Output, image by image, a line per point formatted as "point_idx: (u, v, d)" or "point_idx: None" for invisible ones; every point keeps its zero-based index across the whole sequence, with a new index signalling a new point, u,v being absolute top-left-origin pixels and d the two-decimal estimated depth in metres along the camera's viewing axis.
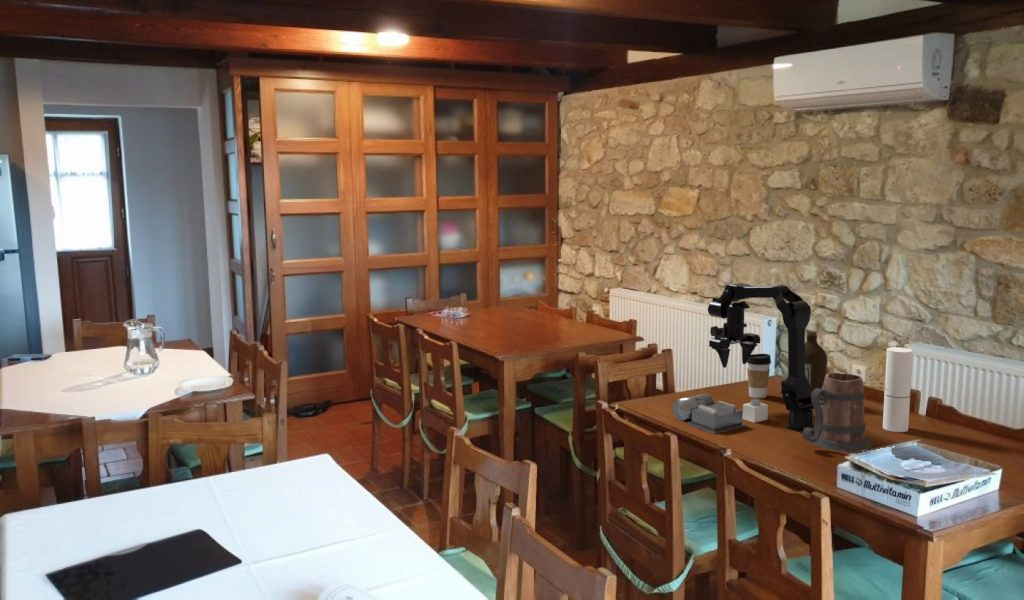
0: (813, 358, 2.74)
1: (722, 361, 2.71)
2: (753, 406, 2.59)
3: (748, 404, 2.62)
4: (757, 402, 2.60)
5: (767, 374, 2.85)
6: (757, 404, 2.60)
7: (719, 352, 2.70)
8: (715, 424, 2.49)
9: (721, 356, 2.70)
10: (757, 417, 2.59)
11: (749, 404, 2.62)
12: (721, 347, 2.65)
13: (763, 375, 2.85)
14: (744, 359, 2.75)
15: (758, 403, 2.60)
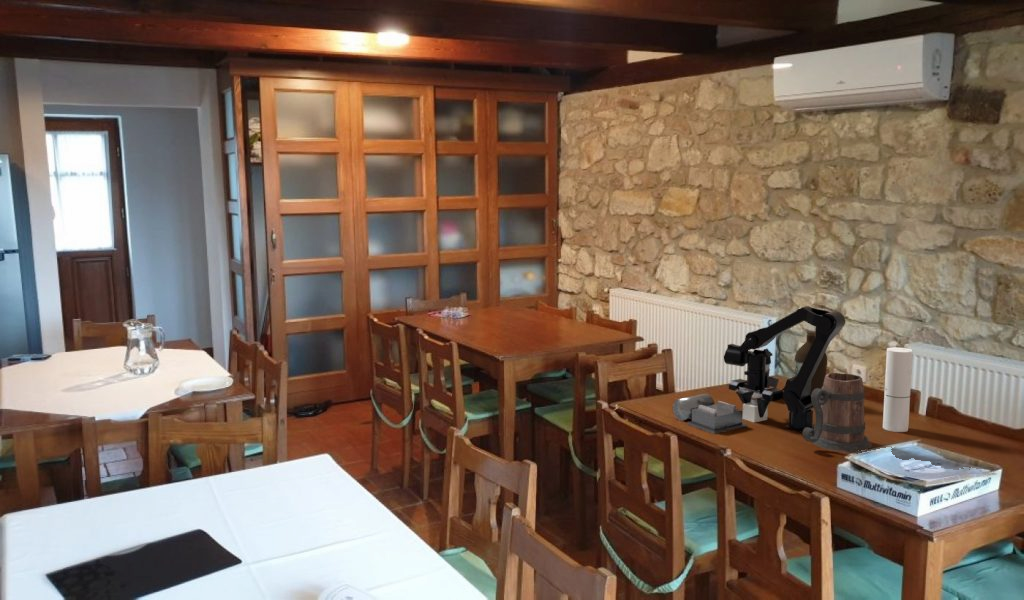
0: None
1: None
2: (753, 406, 2.59)
3: (748, 404, 2.62)
4: None
5: None
6: (757, 404, 2.60)
7: None
8: (715, 424, 2.49)
9: None
10: (757, 416, 2.59)
11: (749, 404, 2.62)
12: None
13: None
14: None
15: None
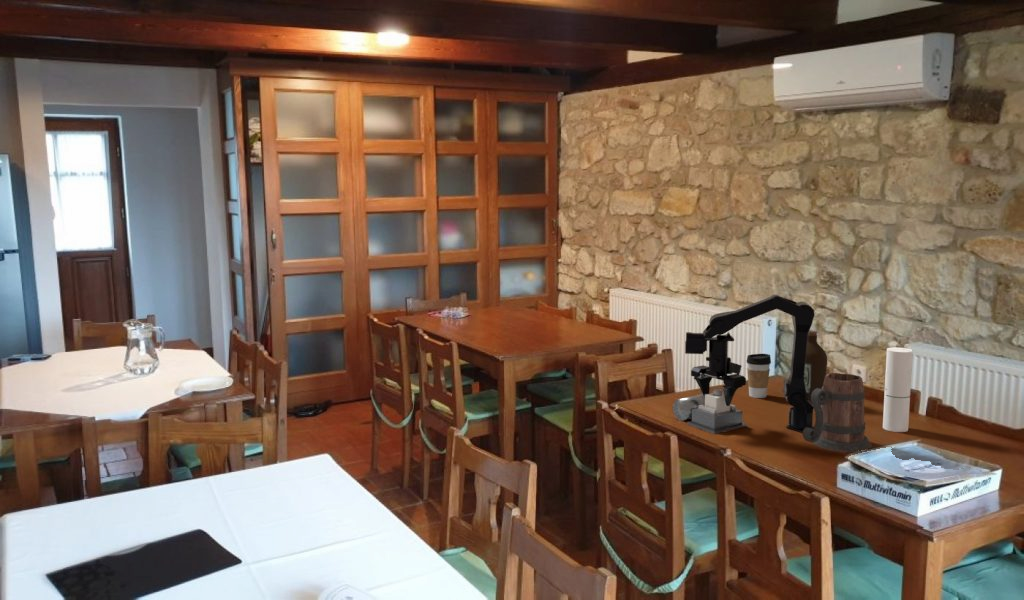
0: (813, 358, 2.74)
1: None
2: (715, 396, 2.53)
3: (710, 394, 2.55)
4: (719, 392, 2.53)
5: (767, 374, 2.85)
6: (719, 394, 2.54)
7: None
8: (715, 424, 2.49)
9: None
10: (719, 407, 2.53)
11: (711, 394, 2.55)
12: (691, 373, 2.60)
13: (763, 375, 2.85)
14: None
15: (720, 393, 2.54)
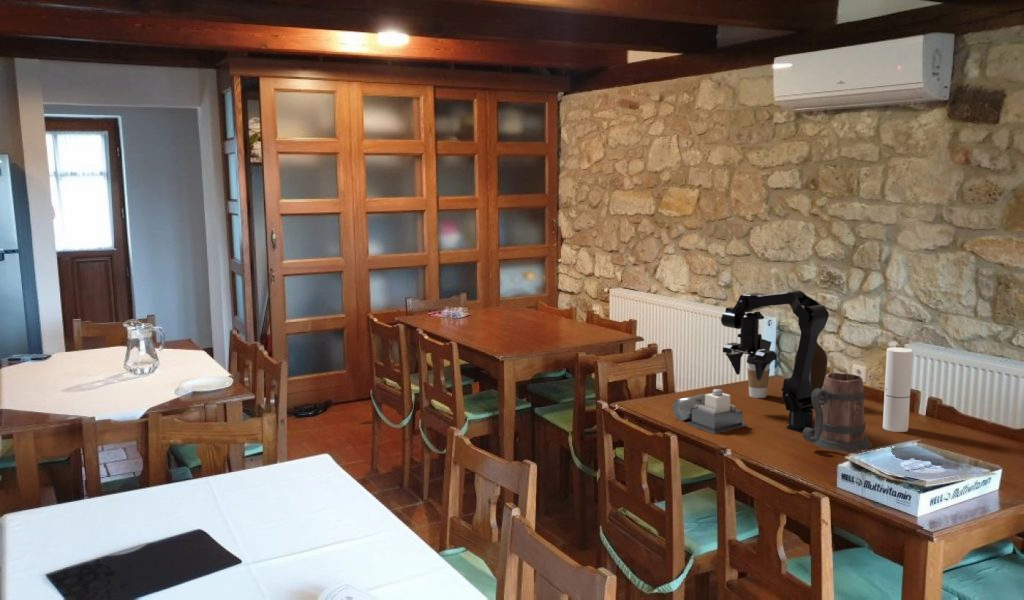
0: (813, 358, 2.74)
1: None
2: (715, 396, 2.53)
3: (710, 394, 2.55)
4: (719, 392, 2.53)
5: (767, 374, 2.85)
6: (719, 394, 2.54)
7: None
8: (715, 424, 2.49)
9: None
10: (719, 407, 2.53)
11: (711, 394, 2.55)
12: None
13: (763, 375, 2.85)
14: None
15: (720, 393, 2.54)
